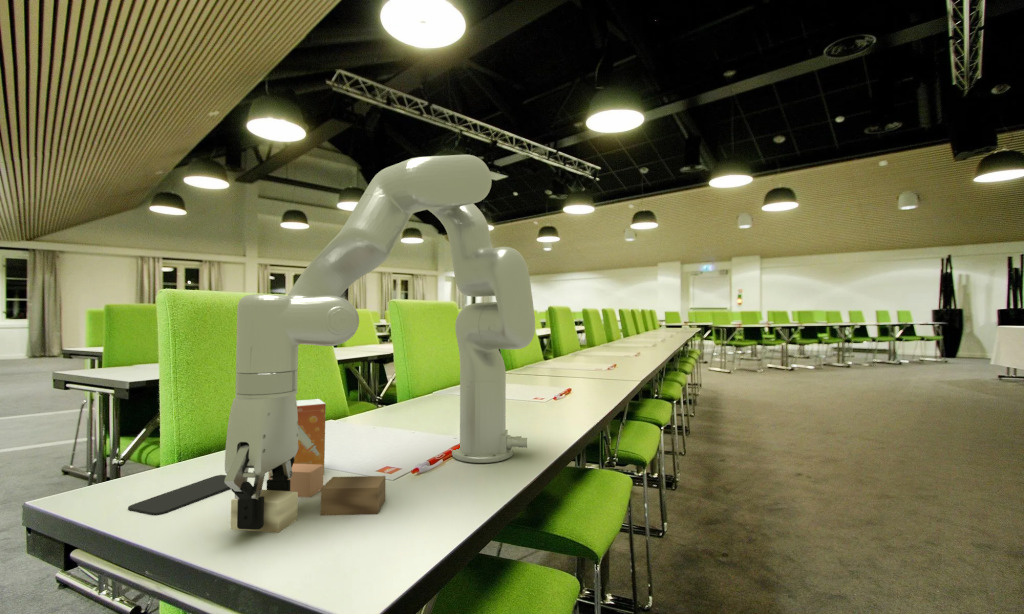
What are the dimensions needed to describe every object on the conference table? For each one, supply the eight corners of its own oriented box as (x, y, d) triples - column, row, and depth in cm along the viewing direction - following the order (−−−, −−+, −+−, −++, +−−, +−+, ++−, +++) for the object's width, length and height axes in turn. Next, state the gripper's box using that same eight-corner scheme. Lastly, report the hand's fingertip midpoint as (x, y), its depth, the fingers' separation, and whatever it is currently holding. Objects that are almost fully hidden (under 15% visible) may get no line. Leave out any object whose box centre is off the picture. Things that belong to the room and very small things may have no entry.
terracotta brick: (323, 489, 76) (323, 464, 76) (310, 498, 72) (310, 472, 72) (283, 487, 76) (283, 463, 77) (268, 496, 72) (268, 470, 73)
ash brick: (297, 520, 63) (297, 491, 64) (278, 534, 60) (278, 503, 60) (252, 517, 65) (252, 489, 65) (230, 530, 61) (231, 499, 61)
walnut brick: (385, 502, 70) (385, 475, 70) (377, 515, 65) (377, 487, 65) (332, 503, 70) (332, 476, 70) (320, 517, 65) (321, 488, 65)
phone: (123, 507, 67) (219, 474, 81) (123, 512, 67) (219, 478, 81) (158, 513, 65) (250, 478, 79) (158, 519, 65) (250, 483, 79)
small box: (274, 484, 77) (276, 407, 78) (270, 474, 83) (272, 401, 83) (325, 475, 82) (326, 402, 82) (318, 466, 87) (319, 397, 88)
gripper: (276, 377, 71) (274, 493, 71) (194, 393, 54) (191, 548, 54) (322, 377, 71) (321, 494, 70) (256, 394, 54) (252, 549, 53)
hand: (264, 516), depth 62 cm, fingers open, 5 cm apart
